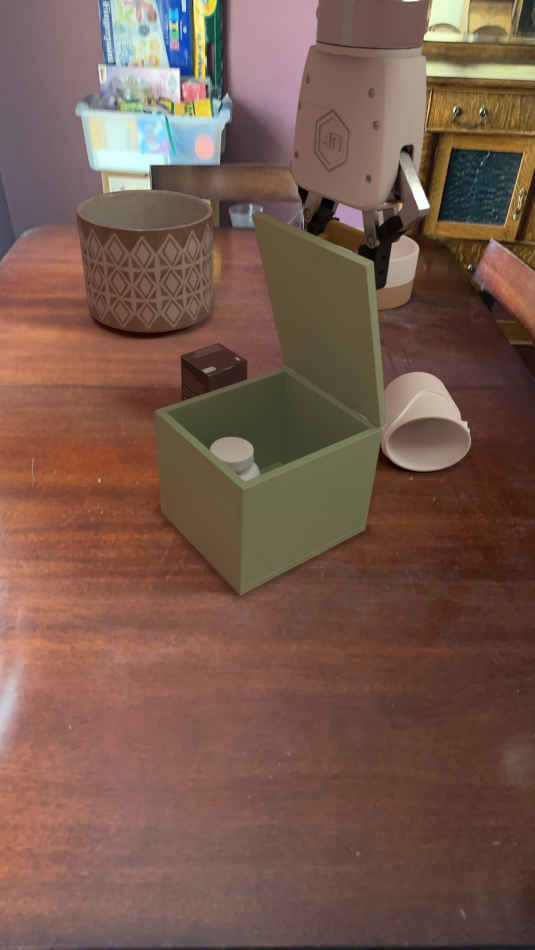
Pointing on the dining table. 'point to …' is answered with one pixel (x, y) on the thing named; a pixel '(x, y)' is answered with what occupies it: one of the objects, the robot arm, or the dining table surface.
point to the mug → (422, 424)
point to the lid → (325, 309)
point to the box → (210, 370)
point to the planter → (147, 259)
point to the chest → (266, 475)
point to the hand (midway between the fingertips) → (344, 275)
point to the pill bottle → (236, 456)
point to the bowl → (398, 274)
